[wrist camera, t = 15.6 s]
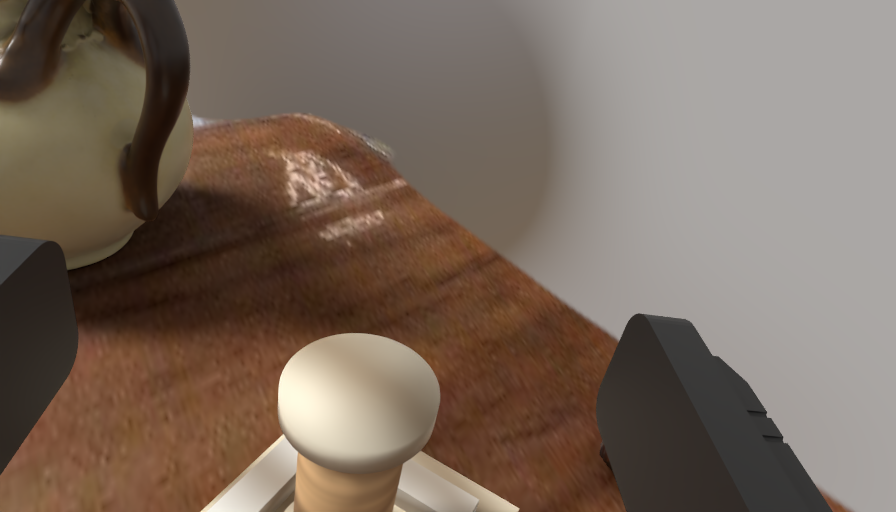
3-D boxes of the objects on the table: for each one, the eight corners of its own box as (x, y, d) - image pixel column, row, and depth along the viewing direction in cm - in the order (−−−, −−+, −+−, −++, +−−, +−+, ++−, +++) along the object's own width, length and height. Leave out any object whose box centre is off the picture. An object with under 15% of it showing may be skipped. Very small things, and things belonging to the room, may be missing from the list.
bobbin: (351, 648, 27) (384, 483, 21) (242, 570, 29) (242, 397, 23) (422, 537, 32) (466, 377, 26) (325, 477, 34) (343, 314, 28)
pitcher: (-47, 161, 56) (-138, -158, 43) (222, 180, 63) (219, -91, 49) (-201, 320, 38) (-439, -140, 25) (197, 322, 45) (180, -40, 32)
